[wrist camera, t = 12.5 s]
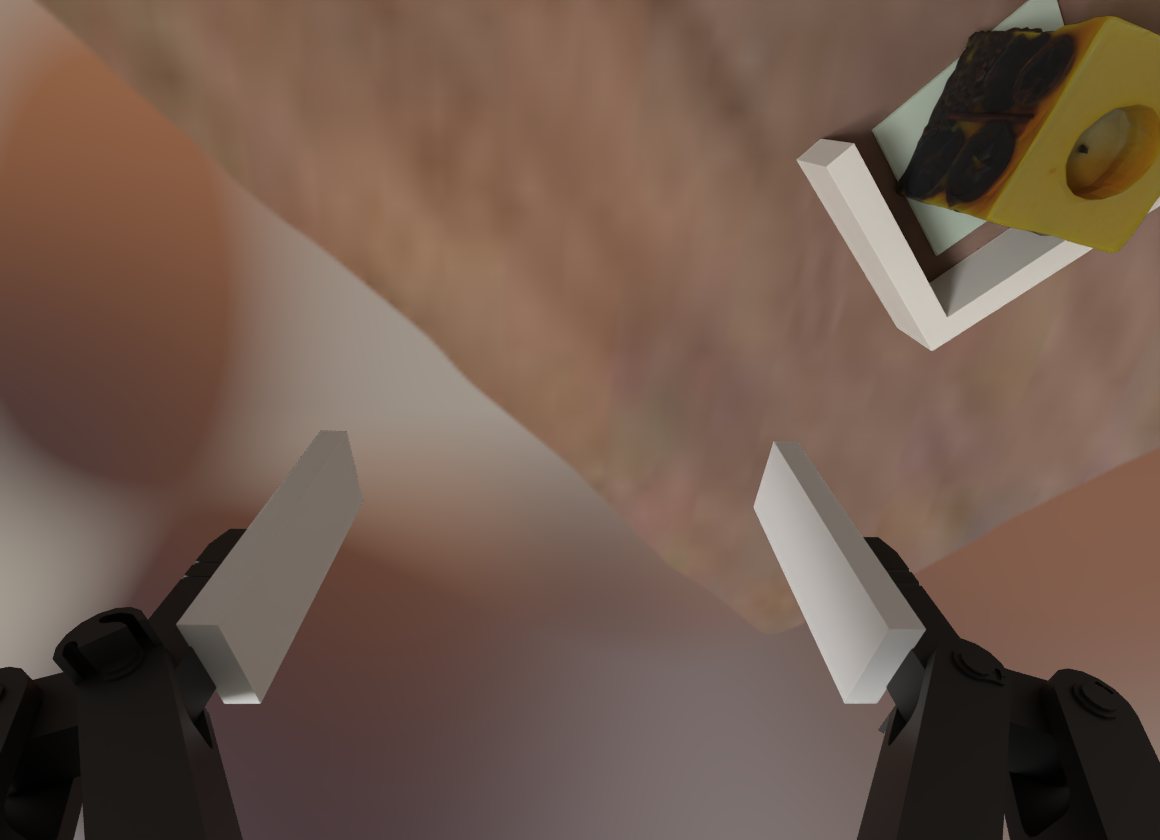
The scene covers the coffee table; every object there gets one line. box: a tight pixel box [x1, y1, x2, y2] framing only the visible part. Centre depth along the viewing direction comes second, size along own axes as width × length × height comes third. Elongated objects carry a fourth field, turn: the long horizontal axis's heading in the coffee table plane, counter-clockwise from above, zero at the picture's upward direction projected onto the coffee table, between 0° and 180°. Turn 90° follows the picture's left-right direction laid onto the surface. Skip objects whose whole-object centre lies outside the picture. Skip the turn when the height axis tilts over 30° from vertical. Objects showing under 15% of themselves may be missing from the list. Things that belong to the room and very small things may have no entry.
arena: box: [796, 139, 1160, 351], centre depth 35 cm, size 18×20×5 cm
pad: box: [872, 0, 1064, 256], centre depth 36 cm, size 12×12×1 cm
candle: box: [896, 16, 1160, 253], centre depth 32 cm, size 10×10×10 cm
